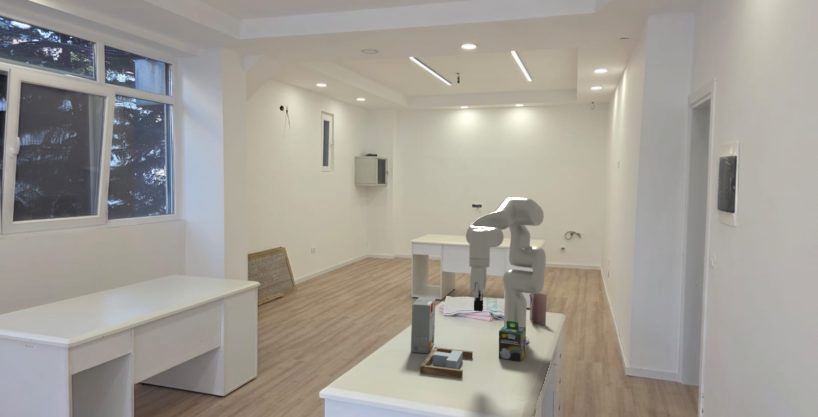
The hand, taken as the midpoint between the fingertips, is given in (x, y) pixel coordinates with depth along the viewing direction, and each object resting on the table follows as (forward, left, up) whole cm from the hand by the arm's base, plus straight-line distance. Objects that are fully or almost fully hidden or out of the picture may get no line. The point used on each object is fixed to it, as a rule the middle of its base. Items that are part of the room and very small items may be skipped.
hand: (478, 310), depth 199 cm
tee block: (0, -12, -22) cm, 25 cm away
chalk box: (-18, +11, -22) cm, 31 cm away
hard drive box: (-17, -26, -22) cm, 38 cm away
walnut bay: (0, -11, -22) cm, 24 cm away
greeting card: (-74, +18, -22) cm, 79 cm away
